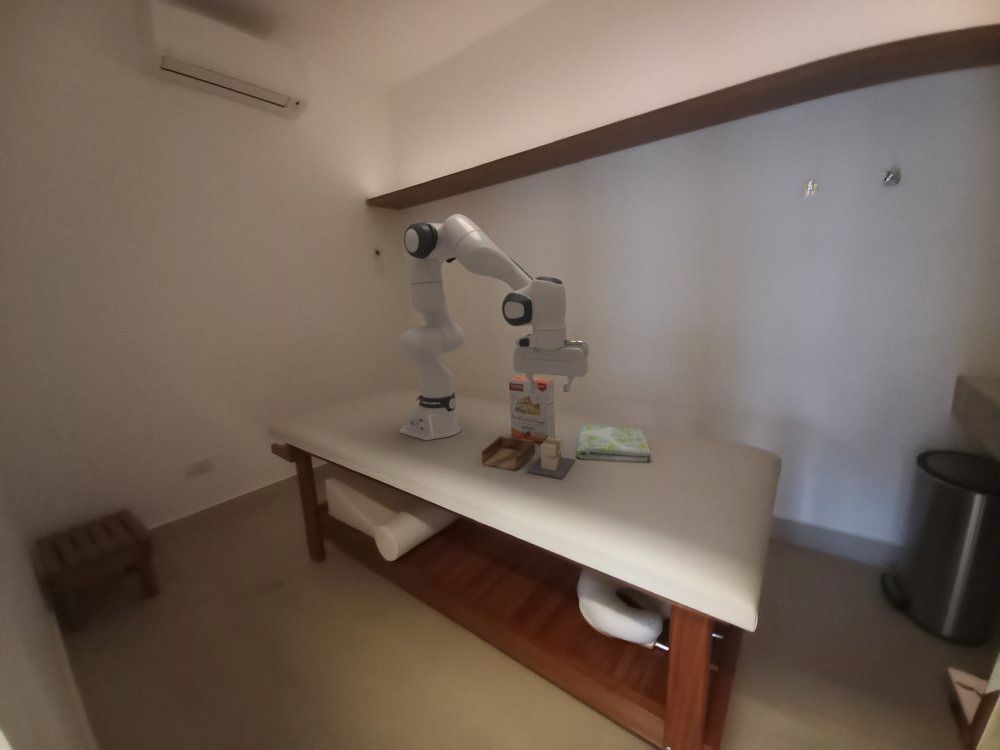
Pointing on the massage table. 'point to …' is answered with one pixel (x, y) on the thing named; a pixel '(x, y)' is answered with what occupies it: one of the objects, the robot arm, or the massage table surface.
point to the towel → (612, 443)
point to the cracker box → (532, 409)
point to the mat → (557, 474)
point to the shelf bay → (508, 453)
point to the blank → (551, 454)
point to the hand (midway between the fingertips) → (550, 390)
